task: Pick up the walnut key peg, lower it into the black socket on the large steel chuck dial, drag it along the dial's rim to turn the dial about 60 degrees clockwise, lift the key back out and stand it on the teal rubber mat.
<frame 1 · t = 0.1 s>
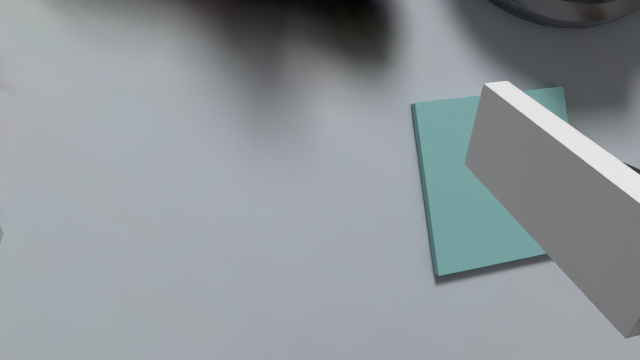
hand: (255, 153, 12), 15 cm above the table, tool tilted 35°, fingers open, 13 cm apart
key mat: (498, 177, 31), on the table
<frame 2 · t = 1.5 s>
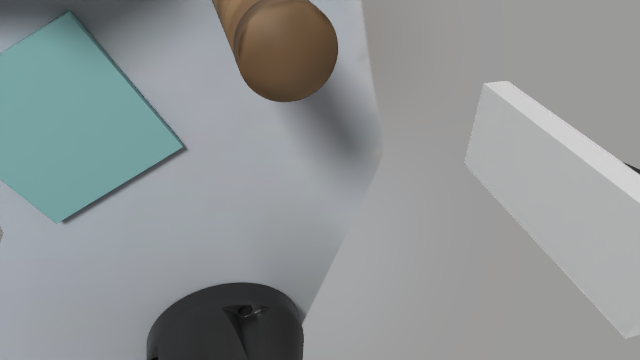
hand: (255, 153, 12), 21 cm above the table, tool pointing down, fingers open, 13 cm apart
key mat: (62, 126, 31), on the table
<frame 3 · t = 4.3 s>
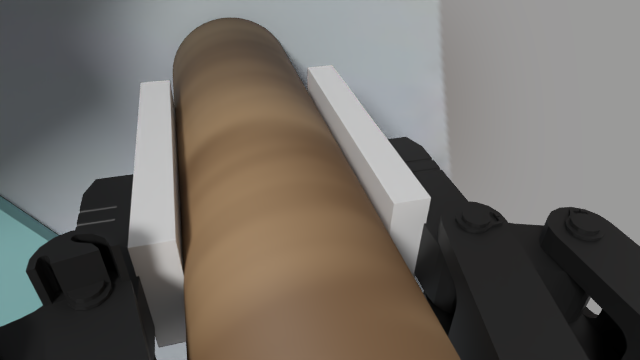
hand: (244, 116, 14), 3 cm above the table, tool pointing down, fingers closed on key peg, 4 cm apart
key peg: (232, 75, 16), on the table, touching gripper
when the fingers open (9 cm above the table, at t = 9.3 s): key peg moves 2 cm, resting on chuck dial.
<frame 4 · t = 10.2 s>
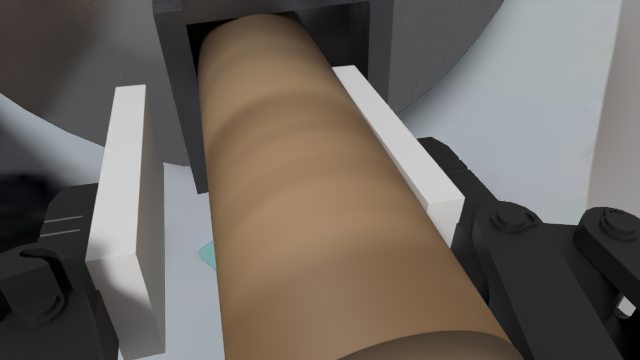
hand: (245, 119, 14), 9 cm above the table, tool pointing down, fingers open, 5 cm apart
key peg: (254, 55, 16), point 6 cm above the table, touching chuck dial, gripper
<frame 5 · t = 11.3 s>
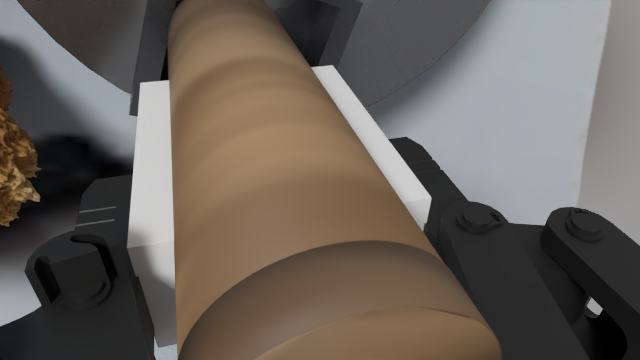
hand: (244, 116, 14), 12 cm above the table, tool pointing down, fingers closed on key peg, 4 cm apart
key peg: (226, 43, 17), point 8 cm above the table, touching gripper
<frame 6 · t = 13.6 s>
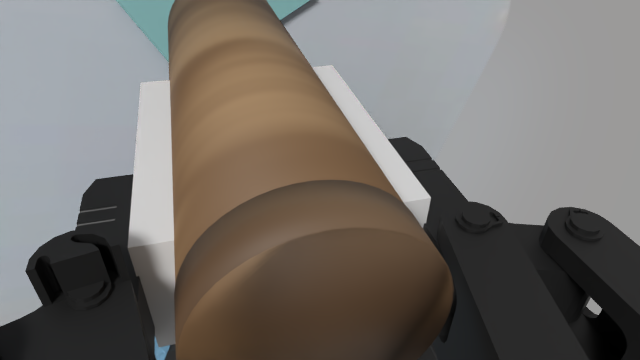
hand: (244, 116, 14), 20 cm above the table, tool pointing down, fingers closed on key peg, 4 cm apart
key peg: (223, 31, 18), point 15 cm above the table, touching gripper
when the fingers open (5 cm above the table, at t = 16.6 s): key peg stays where it is, resting on key mat.
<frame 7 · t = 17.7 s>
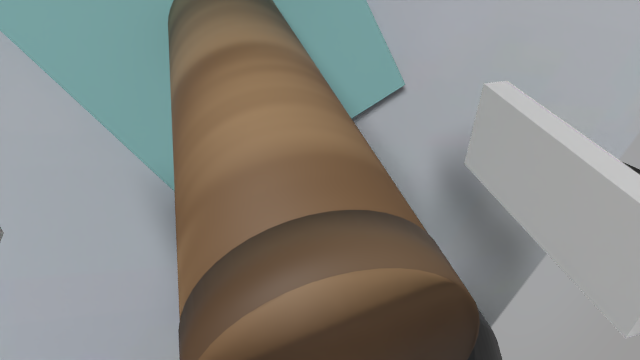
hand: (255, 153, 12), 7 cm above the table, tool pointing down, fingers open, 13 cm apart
key peg: (225, 29, 17), point 1 cm above the table, touching key mat
key mat: (225, 48, 18), on the table
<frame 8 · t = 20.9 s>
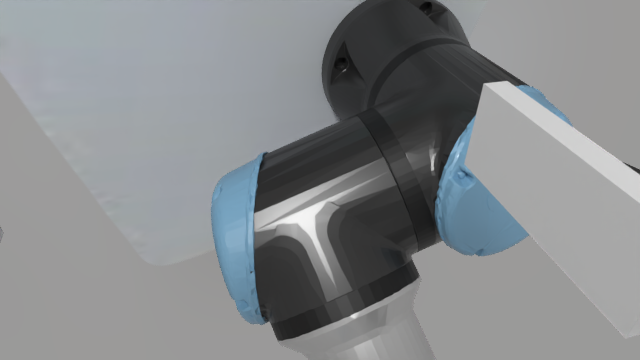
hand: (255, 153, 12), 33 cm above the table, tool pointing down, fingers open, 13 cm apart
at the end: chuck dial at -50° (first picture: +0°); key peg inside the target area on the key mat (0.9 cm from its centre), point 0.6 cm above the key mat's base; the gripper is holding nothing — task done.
